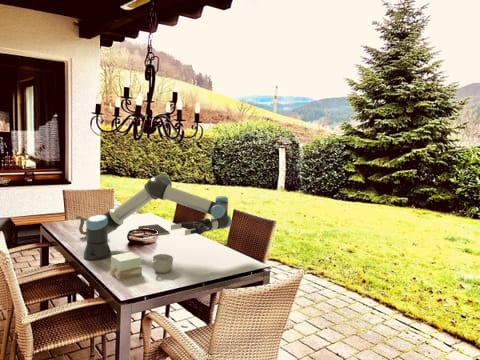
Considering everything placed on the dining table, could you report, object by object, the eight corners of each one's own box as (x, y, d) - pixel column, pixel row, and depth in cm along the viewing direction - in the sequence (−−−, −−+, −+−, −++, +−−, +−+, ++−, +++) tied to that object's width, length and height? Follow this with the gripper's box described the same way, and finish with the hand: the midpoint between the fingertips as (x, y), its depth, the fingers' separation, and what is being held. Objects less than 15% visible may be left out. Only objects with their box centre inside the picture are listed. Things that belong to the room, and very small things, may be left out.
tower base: (109, 274, 203) (109, 264, 202) (131, 269, 211) (131, 260, 210) (120, 281, 194) (120, 271, 194) (141, 275, 202) (141, 266, 202)
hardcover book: (148, 237, 274) (148, 233, 274) (138, 229, 293) (138, 226, 293) (169, 234, 282) (169, 231, 282) (158, 227, 302) (158, 224, 301)
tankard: (108, 235, 271) (108, 214, 269) (100, 240, 259) (100, 219, 257) (81, 233, 273) (81, 213, 271) (71, 238, 260) (71, 217, 259)
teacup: (164, 266, 216) (164, 252, 215) (177, 271, 210) (177, 256, 209) (143, 272, 206) (143, 258, 205) (156, 278, 199) (156, 263, 198)
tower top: (111, 264, 202) (111, 255, 202) (130, 260, 210) (130, 251, 209) (120, 271, 194) (120, 261, 194) (140, 266, 201) (140, 257, 201)
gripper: (222, 235, 218) (191, 242, 204) (195, 226, 236) (165, 231, 222) (222, 222, 217) (191, 228, 203) (195, 214, 235) (165, 219, 221)
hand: (178, 230), depth 212 cm, fingers open, 13 cm apart
